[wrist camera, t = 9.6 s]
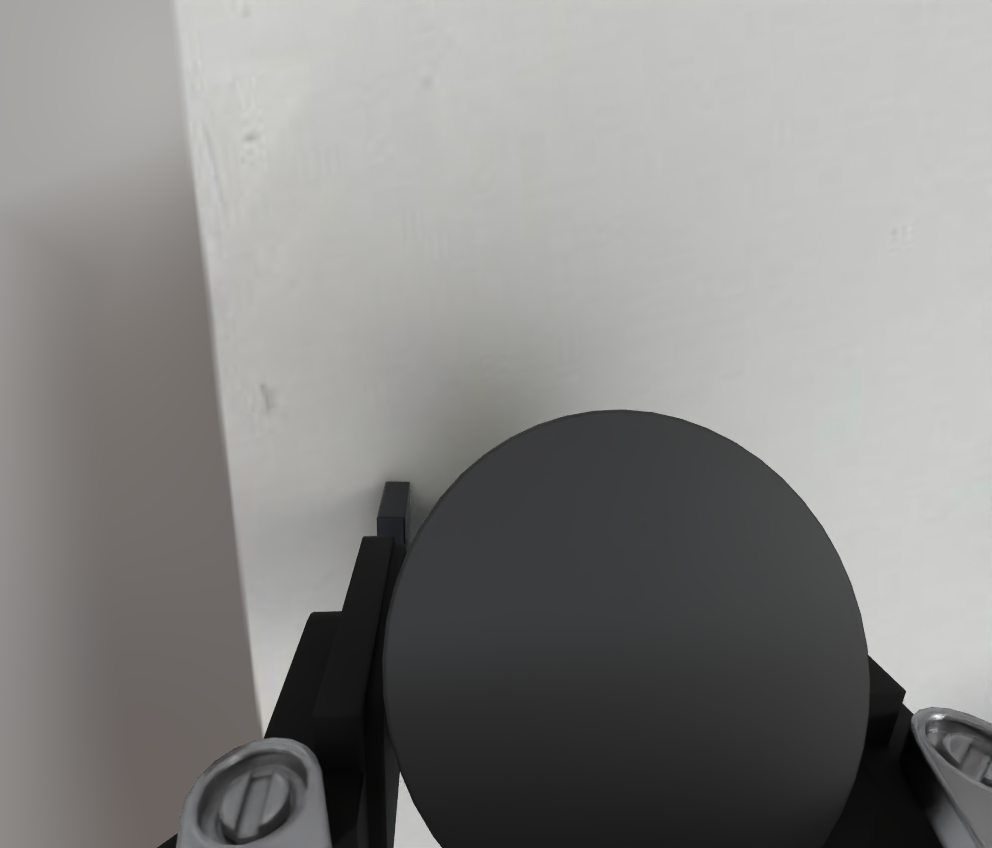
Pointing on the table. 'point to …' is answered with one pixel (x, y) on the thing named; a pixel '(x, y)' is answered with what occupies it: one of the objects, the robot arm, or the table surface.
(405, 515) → the bracket
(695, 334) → the table surface
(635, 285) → the table surface
